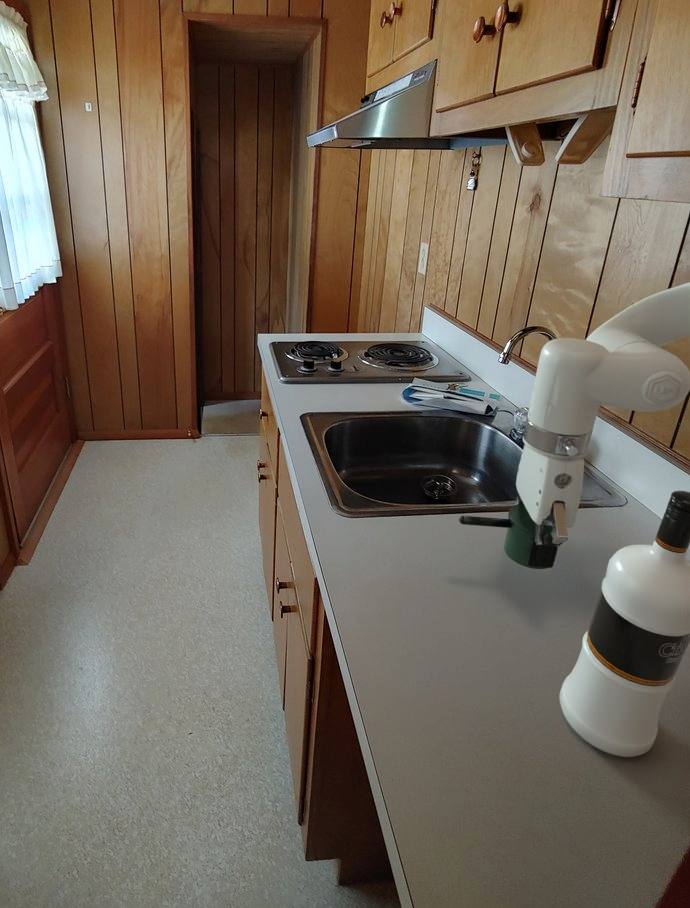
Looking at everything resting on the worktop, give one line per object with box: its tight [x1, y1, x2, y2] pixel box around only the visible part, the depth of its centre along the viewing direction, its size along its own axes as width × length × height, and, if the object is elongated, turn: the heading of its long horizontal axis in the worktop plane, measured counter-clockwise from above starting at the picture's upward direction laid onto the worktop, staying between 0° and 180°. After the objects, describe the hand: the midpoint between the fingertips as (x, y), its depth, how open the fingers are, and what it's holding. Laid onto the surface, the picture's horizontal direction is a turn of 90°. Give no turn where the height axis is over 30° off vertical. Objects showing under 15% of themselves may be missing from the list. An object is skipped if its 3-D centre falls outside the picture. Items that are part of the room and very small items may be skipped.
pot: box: [458, 503, 559, 570], centre depth 77 cm, size 14×7×6 cm, turn 83°
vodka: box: [558, 490, 690, 758], centre depth 56 cm, size 9×9×30 cm
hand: (530, 546), depth 77 cm, fingers closed on pot, 7 cm apart
